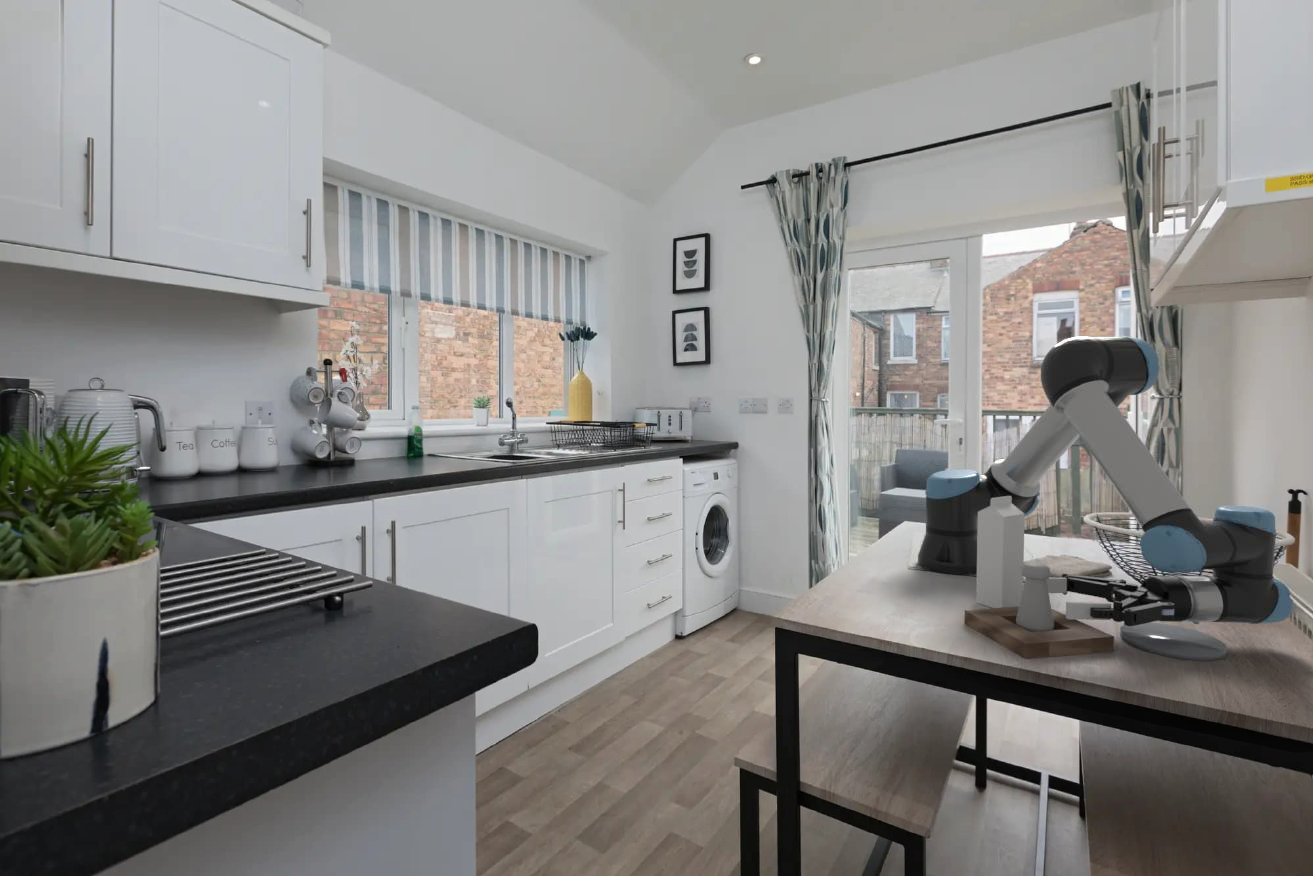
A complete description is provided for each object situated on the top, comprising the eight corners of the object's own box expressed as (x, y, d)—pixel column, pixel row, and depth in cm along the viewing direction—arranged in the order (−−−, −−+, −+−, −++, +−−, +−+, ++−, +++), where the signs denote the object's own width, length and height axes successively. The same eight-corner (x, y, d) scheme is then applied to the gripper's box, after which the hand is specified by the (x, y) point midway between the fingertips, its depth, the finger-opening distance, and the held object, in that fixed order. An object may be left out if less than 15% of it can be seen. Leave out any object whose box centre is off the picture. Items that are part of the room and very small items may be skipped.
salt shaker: (1059, 643, 109) (1061, 569, 108) (1022, 641, 110) (1024, 568, 109) (1045, 631, 114) (1047, 560, 113) (1010, 629, 115) (1012, 559, 114)
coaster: (1100, 630, 114) (1100, 625, 114) (1168, 625, 116) (1168, 619, 116) (1174, 663, 100) (1174, 657, 100) (1250, 656, 102) (1250, 650, 102)
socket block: (964, 623, 119) (964, 610, 119) (1041, 617, 121) (1042, 604, 121) (1025, 658, 103) (1026, 643, 103) (1113, 651, 105) (1113, 636, 105)
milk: (1022, 607, 127) (1026, 498, 125) (1001, 611, 125) (1005, 500, 123) (995, 598, 133) (998, 493, 131) (975, 602, 130) (977, 495, 128)
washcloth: (1115, 575, 148) (1115, 562, 148) (1068, 587, 140) (1069, 574, 139) (1062, 563, 158) (1063, 551, 158) (1016, 574, 150) (1017, 561, 150)
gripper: (1235, 650, 96) (1085, 646, 99) (1131, 596, 121) (1013, 594, 123) (1237, 601, 96) (1087, 599, 98) (1133, 557, 120) (1014, 556, 123)
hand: (1046, 596), depth 111 cm, fingers open, 13 cm apart
